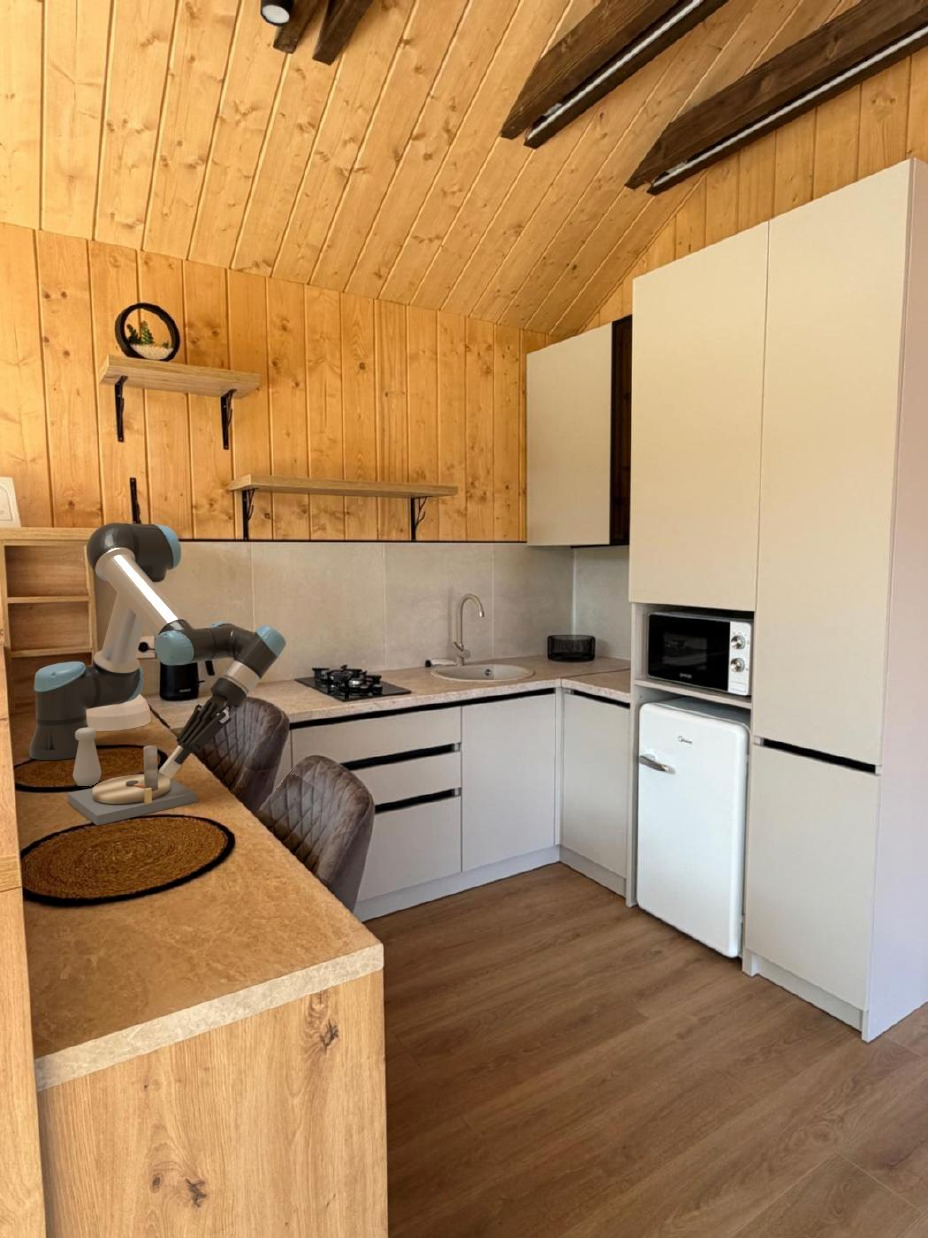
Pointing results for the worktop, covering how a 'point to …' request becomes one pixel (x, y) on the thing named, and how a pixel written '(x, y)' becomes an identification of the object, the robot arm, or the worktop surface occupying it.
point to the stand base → (130, 804)
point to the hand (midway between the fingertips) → (164, 775)
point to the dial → (134, 783)
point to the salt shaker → (86, 758)
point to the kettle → (120, 715)
